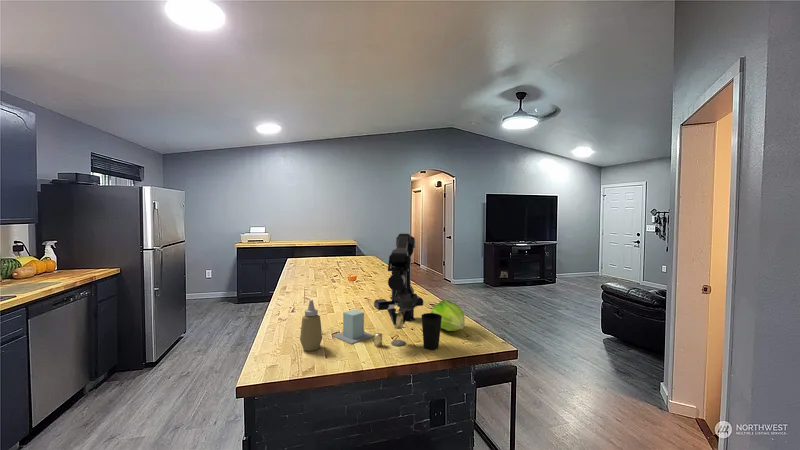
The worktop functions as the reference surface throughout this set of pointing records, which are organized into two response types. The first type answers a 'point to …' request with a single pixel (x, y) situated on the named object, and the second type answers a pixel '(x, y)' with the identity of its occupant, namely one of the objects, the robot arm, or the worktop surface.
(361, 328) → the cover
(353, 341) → the mat
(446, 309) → the lettuce
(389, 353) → the worktop surface
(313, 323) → the squeeze bottle
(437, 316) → the cup
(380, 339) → the pin
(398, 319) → the peg
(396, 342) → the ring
